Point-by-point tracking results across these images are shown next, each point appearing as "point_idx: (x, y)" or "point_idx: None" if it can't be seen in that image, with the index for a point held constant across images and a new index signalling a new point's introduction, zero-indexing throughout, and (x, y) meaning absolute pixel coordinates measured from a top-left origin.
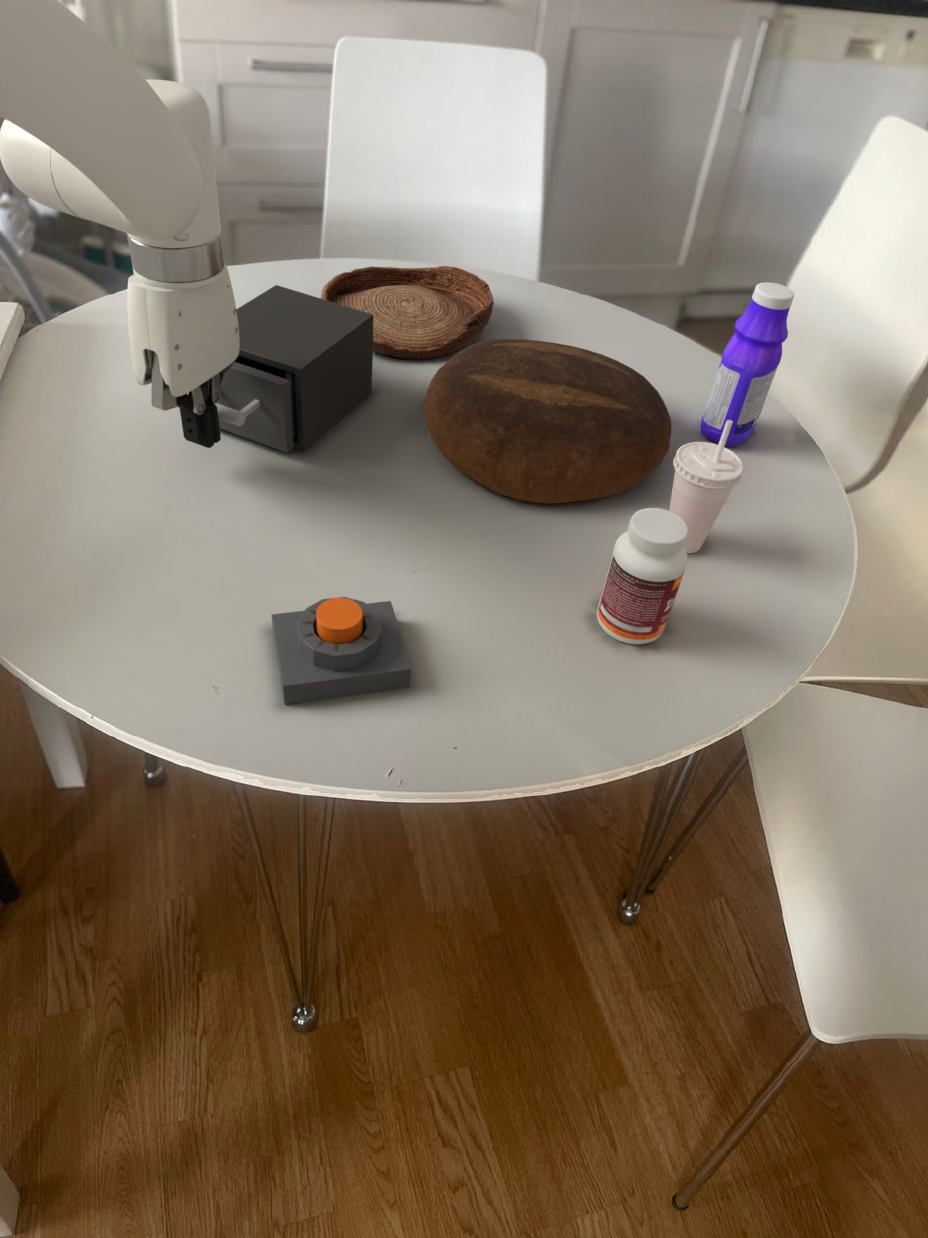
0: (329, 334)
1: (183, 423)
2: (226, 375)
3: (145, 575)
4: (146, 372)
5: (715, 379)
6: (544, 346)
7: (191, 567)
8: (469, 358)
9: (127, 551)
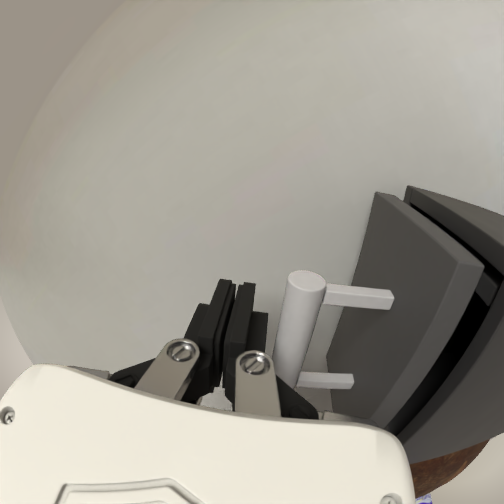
0: (482, 435)
1: (190, 322)
2: (389, 359)
3: (63, 291)
4: (66, 382)
5: (415, 500)
6: (451, 478)
7: (95, 324)
8: (448, 464)
9: (69, 259)
